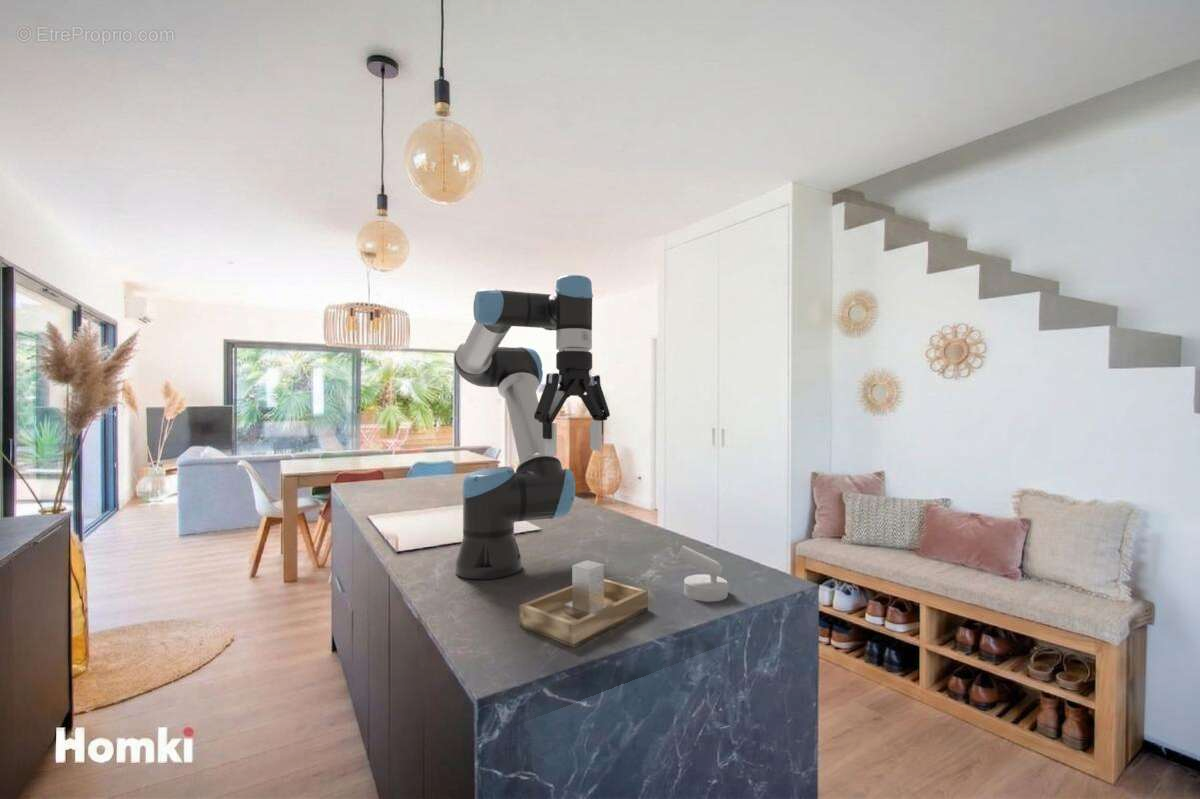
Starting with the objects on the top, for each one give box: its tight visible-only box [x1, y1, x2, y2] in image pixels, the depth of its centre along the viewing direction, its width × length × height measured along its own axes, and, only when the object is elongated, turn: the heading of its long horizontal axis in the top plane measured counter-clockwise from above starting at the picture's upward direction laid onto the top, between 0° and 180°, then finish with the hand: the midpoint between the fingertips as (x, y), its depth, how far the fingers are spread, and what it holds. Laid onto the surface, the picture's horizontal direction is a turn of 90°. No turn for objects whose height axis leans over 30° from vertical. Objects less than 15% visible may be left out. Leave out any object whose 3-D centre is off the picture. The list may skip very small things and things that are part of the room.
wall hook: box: [676, 544, 729, 603], centre depth 106 cm, size 9×10×10 cm
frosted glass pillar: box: [565, 559, 605, 619], centre depth 94 cm, size 8×4×9 cm, turn 49°
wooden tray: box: [518, 578, 649, 649], centre depth 95 cm, size 13×20×4 cm, turn 139°
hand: (574, 453), depth 110 cm, fingers open, 13 cm apart
